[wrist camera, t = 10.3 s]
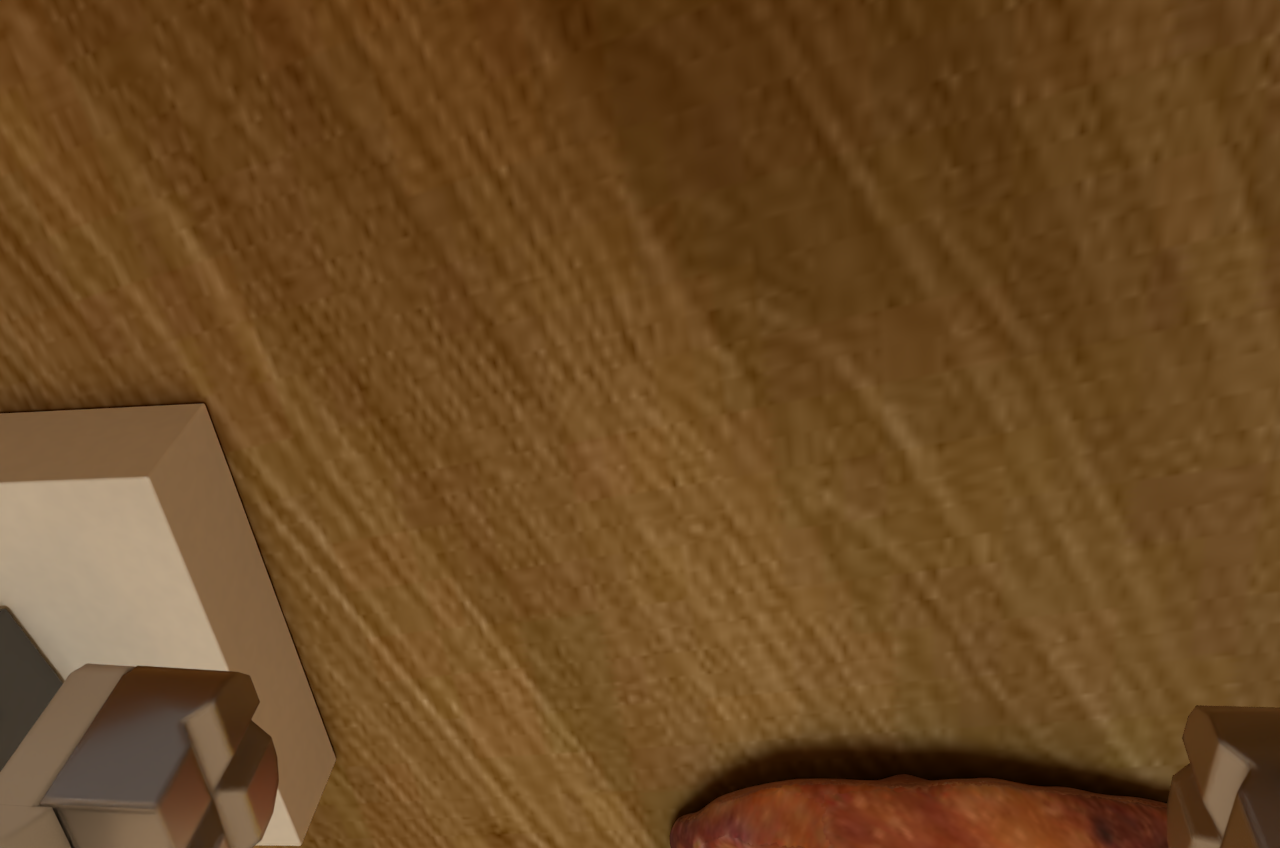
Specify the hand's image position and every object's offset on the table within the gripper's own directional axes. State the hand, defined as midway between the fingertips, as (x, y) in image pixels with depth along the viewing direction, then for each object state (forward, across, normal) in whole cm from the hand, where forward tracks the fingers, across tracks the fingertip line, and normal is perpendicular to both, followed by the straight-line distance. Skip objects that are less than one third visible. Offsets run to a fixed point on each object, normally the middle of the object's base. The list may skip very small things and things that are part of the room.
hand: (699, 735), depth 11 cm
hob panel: (+15, +17, +12) cm, 26 cm away
